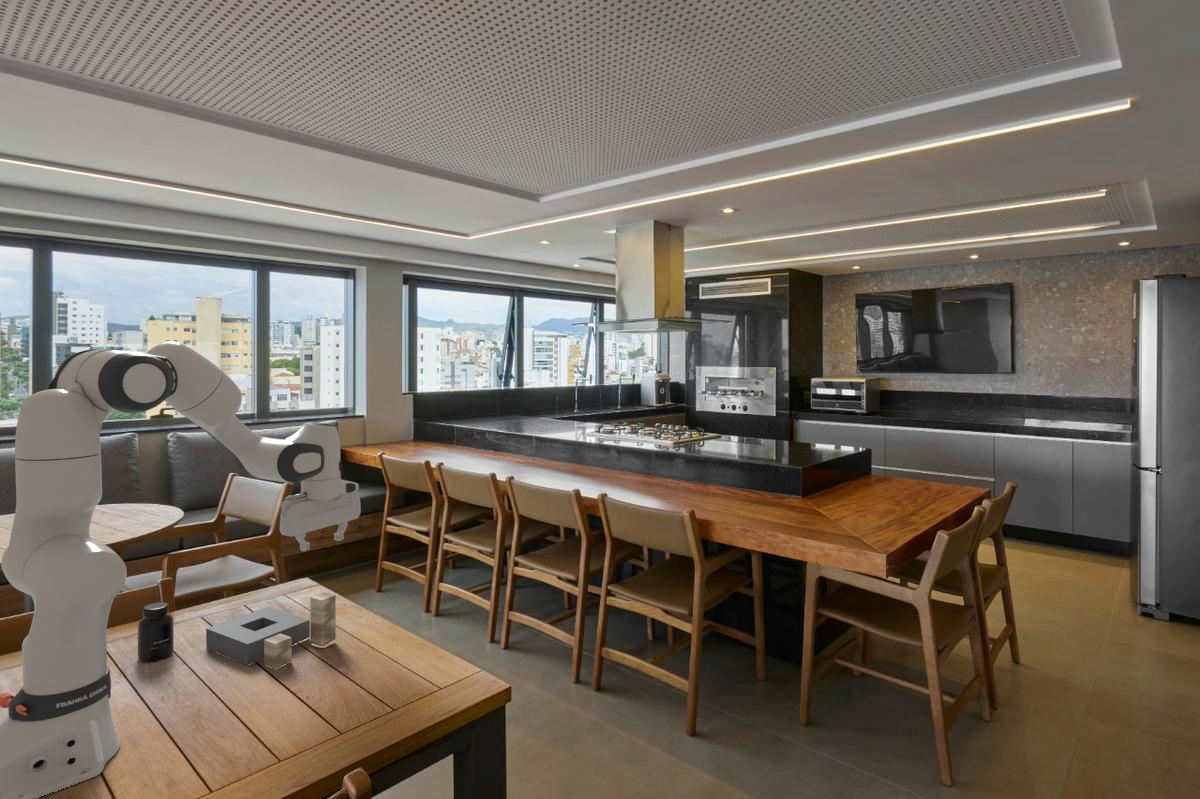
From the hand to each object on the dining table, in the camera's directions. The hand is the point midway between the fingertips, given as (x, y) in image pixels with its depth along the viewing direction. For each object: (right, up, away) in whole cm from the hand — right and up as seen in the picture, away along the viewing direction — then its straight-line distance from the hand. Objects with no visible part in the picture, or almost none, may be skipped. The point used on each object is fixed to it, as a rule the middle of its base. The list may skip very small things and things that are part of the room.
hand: (322, 545), depth 155 cm
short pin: (-6, -25, -9) cm, 27 cm away
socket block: (-16, -24, +1) cm, 29 cm away
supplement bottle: (-36, -25, -7) cm, 44 cm away
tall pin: (0, -25, +2) cm, 25 cm away
